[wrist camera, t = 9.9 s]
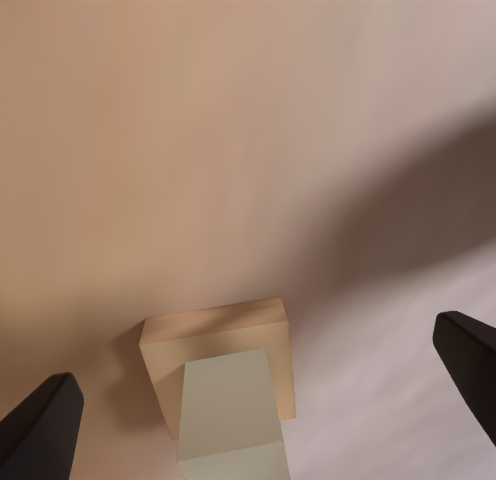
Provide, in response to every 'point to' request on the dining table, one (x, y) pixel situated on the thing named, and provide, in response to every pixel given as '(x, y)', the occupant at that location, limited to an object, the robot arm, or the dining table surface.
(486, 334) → the robot arm
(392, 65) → the dining table surface
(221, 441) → the sage cube
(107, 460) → the dining table surface
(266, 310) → the oak block
